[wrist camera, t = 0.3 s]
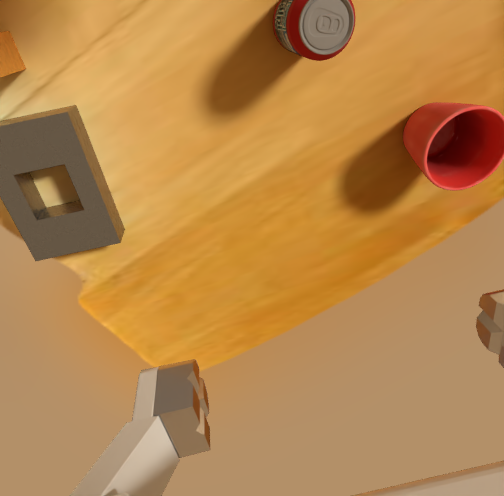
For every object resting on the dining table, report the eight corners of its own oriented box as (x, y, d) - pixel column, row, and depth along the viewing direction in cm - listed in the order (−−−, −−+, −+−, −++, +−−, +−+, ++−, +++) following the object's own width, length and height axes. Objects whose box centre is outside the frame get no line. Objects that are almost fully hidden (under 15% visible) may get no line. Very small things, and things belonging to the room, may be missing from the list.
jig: (-19, 125, 50) (-35, 133, 47) (76, 105, 50) (67, 111, 47) (44, 246, 59) (35, 261, 56) (124, 229, 60) (120, 242, 56)
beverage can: (276, -17, 46) (299, -25, 36) (331, -7, 48) (369, -13, 37) (267, 48, 50) (286, 57, 39) (319, 55, 51) (351, 66, 41)
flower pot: (433, 177, 62) (471, 203, 53) (377, 149, 58) (407, 172, 50) (480, 112, 57) (528, 129, 49) (421, 77, 54) (463, 89, 45)
